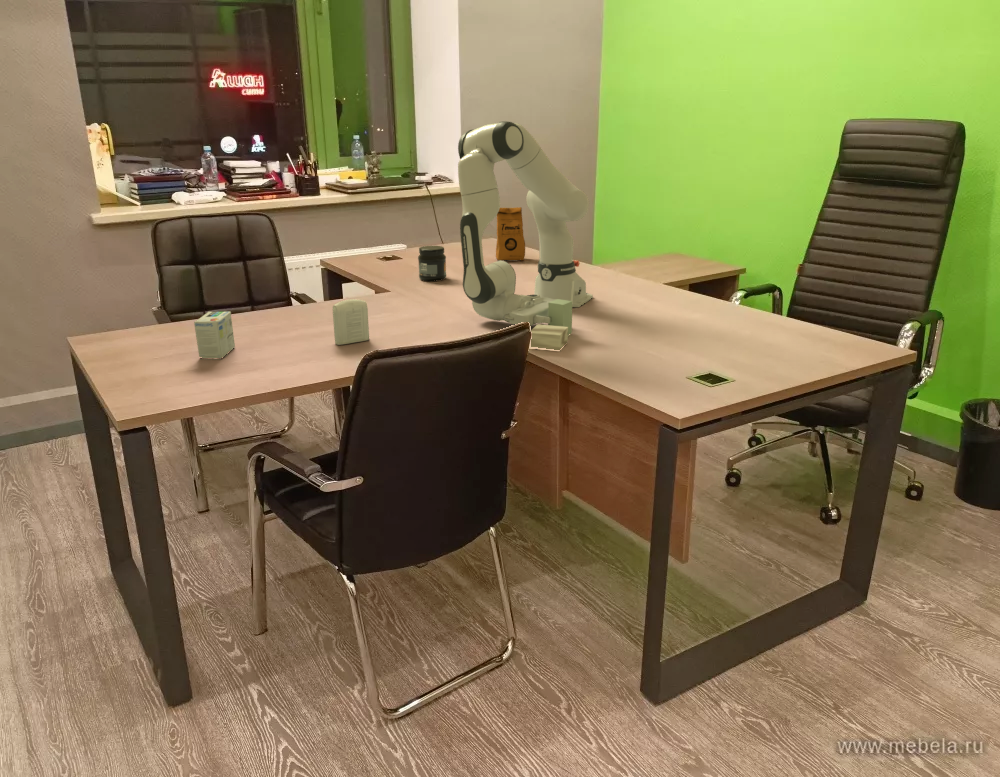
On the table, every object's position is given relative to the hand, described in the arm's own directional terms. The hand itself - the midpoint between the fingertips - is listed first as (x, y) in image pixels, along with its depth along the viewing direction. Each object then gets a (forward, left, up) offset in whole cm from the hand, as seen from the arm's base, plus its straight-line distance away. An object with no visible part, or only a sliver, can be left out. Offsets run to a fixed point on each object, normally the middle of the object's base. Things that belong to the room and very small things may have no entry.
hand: (559, 316), depth 237 cm
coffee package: (-83, -76, -6) cm, 113 cm away
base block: (+11, +3, -6) cm, 13 cm away
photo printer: (+39, -46, -6) cm, 60 cm away
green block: (0, 0, -6) cm, 6 cm away
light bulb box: (+68, -69, -6) cm, 97 cm away
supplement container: (-37, -80, -6) cm, 88 cm away
